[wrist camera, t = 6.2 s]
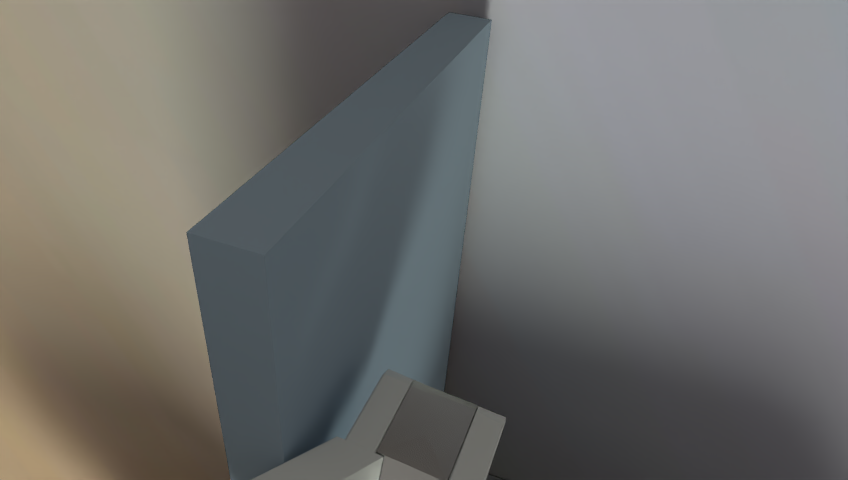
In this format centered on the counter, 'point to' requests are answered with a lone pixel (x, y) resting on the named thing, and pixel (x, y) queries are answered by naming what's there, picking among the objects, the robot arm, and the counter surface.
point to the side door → (343, 254)
